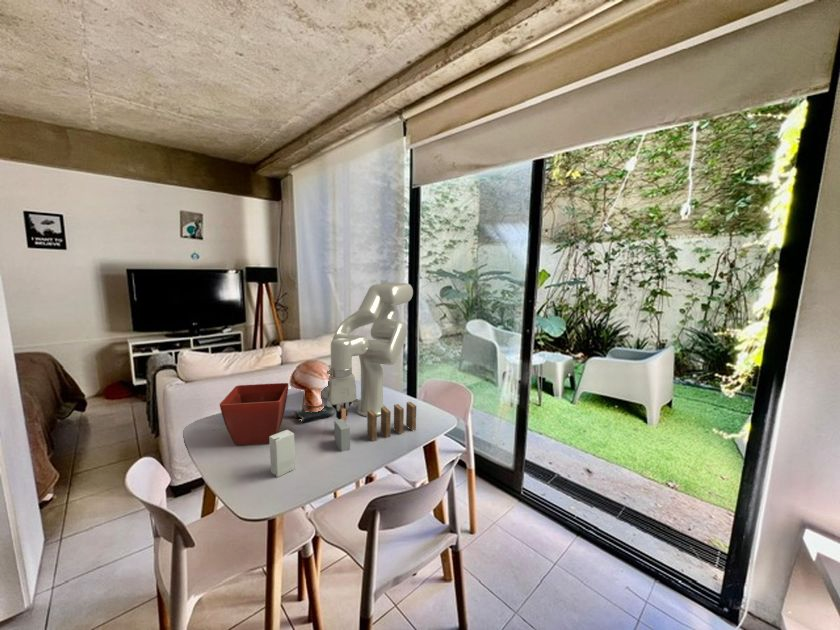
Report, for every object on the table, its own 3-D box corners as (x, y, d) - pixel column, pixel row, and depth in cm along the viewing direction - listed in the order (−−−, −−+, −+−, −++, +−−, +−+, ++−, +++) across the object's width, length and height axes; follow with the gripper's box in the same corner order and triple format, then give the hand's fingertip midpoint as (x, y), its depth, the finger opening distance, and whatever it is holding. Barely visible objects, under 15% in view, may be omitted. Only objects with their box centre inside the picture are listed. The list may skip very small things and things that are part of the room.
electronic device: (303, 429, 136) (338, 414, 146) (300, 416, 136) (335, 402, 145) (296, 423, 144) (329, 410, 153) (293, 411, 143) (326, 398, 152)
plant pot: (238, 426, 134) (236, 384, 132) (290, 422, 138) (288, 382, 136) (221, 452, 116) (218, 404, 113) (281, 447, 120) (279, 401, 117)
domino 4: (412, 431, 134) (412, 406, 132) (406, 426, 138) (406, 402, 136) (415, 430, 134) (416, 406, 133) (409, 425, 139) (410, 401, 137)
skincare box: (288, 464, 110) (287, 428, 108) (296, 469, 107) (295, 433, 106) (269, 472, 106) (268, 435, 104) (277, 478, 103) (275, 440, 101)
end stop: (341, 451, 118) (341, 429, 117) (334, 441, 125) (334, 420, 124) (350, 449, 120) (349, 427, 118) (342, 439, 126) (342, 418, 125)
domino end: (341, 435, 129) (341, 410, 127) (337, 430, 133) (337, 405, 132) (346, 434, 130) (346, 409, 128) (341, 429, 134) (341, 404, 132)
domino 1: (372, 441, 125) (372, 415, 124) (367, 435, 130) (367, 410, 128) (376, 440, 126) (376, 414, 125) (371, 434, 130) (371, 409, 129)
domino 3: (399, 434, 131) (399, 409, 129) (393, 429, 135) (394, 404, 134) (403, 433, 132) (403, 408, 130) (397, 428, 136) (397, 404, 134)
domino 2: (386, 437, 128) (386, 412, 127) (380, 432, 132) (381, 407, 131) (390, 436, 129) (390, 411, 127) (384, 431, 133) (384, 406, 132)
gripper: (323, 378, 121) (324, 427, 123) (364, 372, 128) (364, 418, 131) (317, 372, 127) (318, 419, 130) (357, 366, 135) (357, 411, 138)
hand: (341, 418), depth 130 cm, fingers closed on domino end, 1 cm apart
